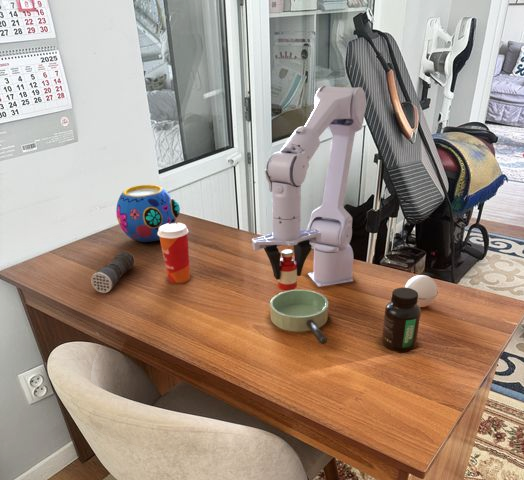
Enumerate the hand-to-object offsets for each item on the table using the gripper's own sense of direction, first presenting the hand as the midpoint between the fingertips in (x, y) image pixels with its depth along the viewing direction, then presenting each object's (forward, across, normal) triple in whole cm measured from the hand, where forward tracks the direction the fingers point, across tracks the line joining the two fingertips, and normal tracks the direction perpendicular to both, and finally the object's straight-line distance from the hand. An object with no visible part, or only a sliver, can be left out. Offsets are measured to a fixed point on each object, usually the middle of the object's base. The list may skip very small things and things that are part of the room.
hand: (287, 275), depth 112 cm
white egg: (+10, +30, -7) cm, 33 cm away
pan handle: (+8, +2, -12) cm, 15 cm away
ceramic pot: (+10, -24, +59) cm, 65 cm away
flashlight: (+10, -36, +33) cm, 50 cm away
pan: (+10, +2, -2) cm, 10 cm away
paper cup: (+10, -20, +28) cm, 36 cm away
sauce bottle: (+2, 0, 0) cm, 2 cm away
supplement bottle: (+10, +18, -19) cm, 28 cm away
